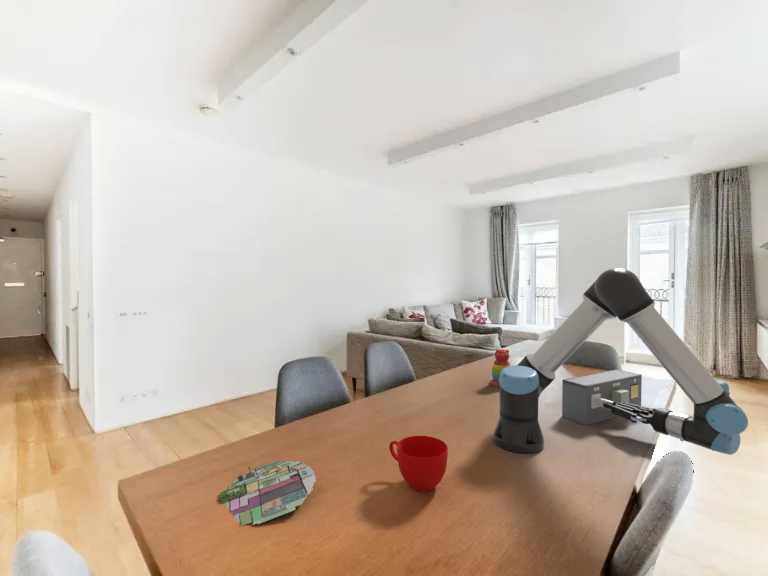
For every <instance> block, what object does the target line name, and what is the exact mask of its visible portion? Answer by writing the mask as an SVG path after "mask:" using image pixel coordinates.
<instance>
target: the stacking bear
mask: <svg viewBox="0 0 768 576" xmlns="http://www.w3.org/2000/svg"><path fill="white" fill-rule="evenodd" d="M509 353H510V351H509V349H502V348H500V349H495V352H494V357H495V360H494V361H493V364H492V369H491V376H492V379H490V380H489V384H490V385H491V386H492V385H493V386H492V387H495V386H496V388H498V387H500V383H499V378H500V373H501V371H502V370H503V369H504V368H506V367H510V366H512V365H511V363H510V361H509V359H510V354H509Z"/></svg>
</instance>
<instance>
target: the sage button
mask: <svg viewBox="0 0 768 576" xmlns="http://www.w3.org/2000/svg"><path fill="white" fill-rule="evenodd" d="M611 401H613V402H616V403H622V402H625V403H629V391H628V390H624V389H620V388H616V389H612V390H611Z"/></svg>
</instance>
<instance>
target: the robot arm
mask: <svg viewBox="0 0 768 576" xmlns="http://www.w3.org/2000/svg"><path fill="white" fill-rule="evenodd" d="M582 298H583V300H582V302H581V303H580V304H579V305H578V306H577V308H575V309H574V310H573V312H572V313H571V314H570V315H569V316H568V317H567V318H566V319H565V320H564V321H563V322H562V323H561V325H559V327H558V328H557V329H556V330H555V331H554V332H553V333H552V334H551V335H550V336H549V337H548V338H547V340H546V341H544V343H543V344H541V346H540V347H539V348H538V349H537V350H536V351H535V352H534V353H527V354H526V355H525V356H524V357H523V358H522V359H521V360H520V362H519V363H518V364H516V365H511V366H510V367H506V368H504V369H503V370H502V371H501V373H500V378H499V383H500V388H499V417H498V420H497V422H496V425H495V428H494V431H493V442H494V443H495V444H496V446H498V447H500V448H502V449H504V450H507V451H510V452H513V453H520V454H534V453H538V452H541V451H543V450H544V448H545V438H544V435H543V431H542V429H541V426H540V423H539V400H540V399H539V397H540V396H541V394H542V393H543V391H545V389H546V388H548V386H549V385H550V384H551V383H553V381H554V380H555V379H556V371H557V370H558V369H559V368H560V367H561V366H562V365H563V364H564V363H565V362H566V361H568V359H569V358H570V357H571V356H572V355H573V354H574V353H575V352H576V351H577V350H578V349H579V348H580V347H581V346H582V345H583V344H584V343H585V342H586V341H587V340H588V339H589V338H590V337H591V336H592V335H593V334H594V333H595V332H596V331H597V330H598V329H599V328H600V327H601V325H603V324H604V322H605V321H606V320H608V319H616V318H618V320H619V321H620V322H622V323H626V324H627V325H628V326H629V327H630V328H631V329H632V331H633V332H634V333H635V334H636V336H637V337H638V338H639V339H640V340H641V341H642V343H643V344H644V345H645V346H646V348H647V349H648V350H649V351H650V352H651V354H652V355H653V356H654V357H655V358H656V360H657V361H658V362H659V363H660V365H662V367H663V368H664V370H665V371H666V372H667V373H668V374H669V376H670V377H671V378H672V379H673V380H674V381H675V383H676V385H678V386H679V388H680V389H681V390H682V391H683V393H684V394H685V395H686V397H687V398H688V399H689V400H690V401H691V403H692V404H693V416H692V415H690V414H689V415H688V414H685V413H682V412H679V411H672V410H670V409H667V408H666V409H665V408H662V407H658V408H654V407H648V406H644V405H641V406H639V405H634V404H629V403H625V402H622V403H616V402H613V401H610V400H606V399H603V398H599V397H597V398H596V405H597V406H600V407H603V408H606V409H609V410H611V413H613V414H616V415H618V416H617V417H621V418H622V419H626V420H628V421H630V422H631V423H632V424H637V423H638V422H640V423H642V424H645V425H650V426H651V427H652V429H653V430H654V431H655V432H656V433H659V434H662V435H665V436H670V437H673V438H675V439H679V441H680V442H688V443H689V444H693V445H697V446H699V447H703V448H704V449H708V450H710V451H713V452H717V453H720V454H726V455H728V456H729V455H734V454H736V453H737V452H738V450H739V448H740V446H741V445H740V444H741V436H740V435H741V434H742V433H743V432H745V431H746V429H747V428H748V426H749V420H748V417H747V415H746V413H745V412H744V410H743V409H742V407H740V406H738V405H737V404H736V402H735V401H734V400H733V399H732V398H731V396H730V394H731V393H730V385H729V383H727V382H725V381H723V380H719V379H716V378H715V377H714V376H712V374H711V373H710V372H709V370H708V369H707V368H706V367H705V366H704V365H703V363H702V362H701V361H700V360H699V358H698V357H697V356H696V355H695V354H694V352H693V351H691V349H690V348H689V347H688V345H686V343H685V342H684V341H683V340H682V339H681V337H679V335H678V334H677V333H676V331H674V329H673V328H672V327H671V326H670V324H669V323H668V322H667V321H666V320H665V319H664V317H662V315H661V314H660V313H659V312H658V310H657V309H656V308H655V304H656V301H655V300H654V299H653V298H652V296H651V295H650V294H649V293H648V292H647V290H646V289H645V287H644V285H643V283H642V282H641V280H640V278H639V277H638V275H636V274H635V273H634V272H633V271H631V270H628V269H626V268H620V267H617V268H616V267H615V268H609V269H607V270H605V271H603V272H602V273H601V274H599V276H598V277H597V278H596V280H594V282H593V283H592V284H591V285H590V286H589V287H588V288H587V290H585V292H584V293H582Z"/></svg>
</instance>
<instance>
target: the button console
mask: <svg viewBox="0 0 768 576" xmlns="http://www.w3.org/2000/svg"><path fill="white" fill-rule="evenodd" d="M634 384H638V397H636V398H632V399H630V385H634ZM561 385H562V391H561V392H562V395H561V396H562V397H561V398H562V399H561V401H562V402H561V405H562V406H561V417H563V418H567V419H569V420H571V421H574V422H577V423H580V424H582V425H586V426H588V425H591V424H596V423H599V422H602V421H606V420H609V419H613V418H616V417H619V416H618V415H616V414H613V413H611V410H609V409H606V408H603V407H597V408H594V409H591V394H595V393H601V398H603V399H606V400H610V401H611V390H612V389H616V388H620V389H624V390H628V391H629V404H634V405H639V406H642V374H640V373H635V372H631V371H626V370H621V369H617V368H615V369H611V370H606V371H600V372H596V373H590V374H584V375H580V376H575V377H569V378H565V379H562V383H561Z"/></svg>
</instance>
